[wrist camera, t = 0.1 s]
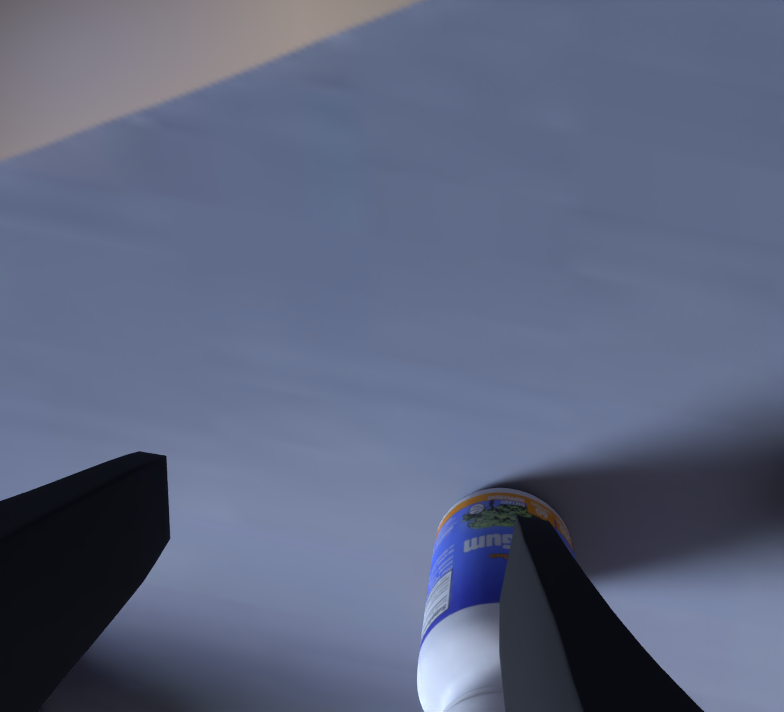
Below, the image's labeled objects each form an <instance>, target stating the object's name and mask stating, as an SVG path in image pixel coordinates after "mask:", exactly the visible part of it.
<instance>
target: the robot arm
mask: <svg viewBox="0 0 784 712" xmlns="http://www.w3.org/2000/svg"><path fill="white" fill-rule="evenodd" d="M169 540H170V524H169V503H168V481H167V460H166V456H164V455H158V454H152V453H146V452H140V451H139V452H135V453H131V454H128V455H125V456H122V457H119V458H116V459H113V460H110V461H107V462H105V463H102V464H99V465H96V466H94V467H91V468H88V469H86V470H83V471H81V472H78V473H75V474H73V475H70V476H67V477H65V478H62V479H60V480H57V481H54V482H52V483H49V484H46V485H44V486H41V487H39V488H36V489H33V490H31V491H28V492H25V493H22V494H19V495H16V496H14V497H11V498H8V499H5V500H2V501H0V712H39V710H40V709H41V707H42V706H43V705H44V703H45V702H46V701H47V700H48V698H49V697H50V696H51V694H52V693H53V692H54V690H55V689H56V688H57V687H58V685H59V684H60V683H61V681H62V680H63V679H64V678H65V676H66V675H67V674H68V673H69V672H70V670H71V669H72V668H73V667H74V666H75V664H76V663H77V662H78V661H79V660H80V658H81V657H82V656H83V655H84V654H85V652H86V651H87V650H88V649H89V647H90V646H91V645H92V644H93V643H94V641H95V640H96V639H97V638H98V637H99V635H100V634H101V633H102V632H103V631H104V629H105V628H106V627H107V626H108V625H109V623H110V622H111V621H112V620H113V618H114V617H115V616H116V615H117V614H118V612H119V611H120V610H121V609H122V607H123V606H124V605H125V604H126V603H127V601H128V600H129V599H130V598H131V596H132V595H133V594H134V593H135V591H136V590H137V589H138V588H139V586H140V585H141V584H142V583H143V581H144V580H145V578H146V577H147V575H148V574H149V572H150V570H151V569H152V567H153V566H154V564H155V563H156V561H157V560H158V558H159V556H160V555H161V553H162V551H163V550H164V548H165V546H166V545H167V543H168V541H169ZM499 655H500V665H501V675H502V685H503V694H504V704H505V712H704V711H703V710H702V709H701V708H700V707H699V706H698V705H697V704H696V703H695V702H694V701H693V700H692V699H691V698H690V697H689V696H688V695H687V694H686V693H685V692H684V691H683V690H682V689H681V688H680V687H679V686H678V685H677V684H676V683H675V681H674V680H673V679H672V678H671V677H670V676H669V675H668V674H667V673H666V672H665V671H664V670H663V669H662V668H661V667H660V666H659V665H658V664H657V663H656V661H655V660H654V659H653V658H652V657H651V656H650V655H649V654H648V653H647V651H646V650H645V649H644V648H643V647H642V646H641V644H640V643H639V642H638V641H637V640H636V639H635V637H634V636H633V635H632V634H631V633H630V631H629V630H628V629H627V628H626V627H625V625H624V624H623V623H622V622H621V621H620V619H619V618H618V617H617V616H616V614H615V613H614V612H613V611H612V609H611V608H610V607H609V605H608V604H607V603H606V601H605V600H604V599H603V597H602V596H601V595H600V593H599V592H598V591H597V589H596V588H595V587H594V585H593V584H592V583H591V581H590V580H589V578H588V577H587V575H586V574H585V573H584V571H583V570H582V568H581V567H580V565H579V564H578V563H577V561H576V560H575V558H574V557H573V555H572V554H571V552H570V551H569V549H568V548H567V546H566V545H565V543H564V542H563V540H562V539H561V537H560V536H559V534H558V533H557V532H556V530H555V529H554V527H553V526H552V524H551V523H550V522H549V521H547V520H542V519H536V518H530V517H524V516H518V515H516V520H515V525H514V531H513V536H512V541H511V546H510V551H509V556H508V561H507V566H506V571H505V576H504V581H503V586H502V591H501V596H500V608H499Z"/></svg>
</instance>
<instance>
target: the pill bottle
mask: <svg viewBox="0 0 784 712" xmlns="http://www.w3.org/2000/svg"><path fill="white" fill-rule="evenodd" d="M516 515H518V516H524V517H530V518H536V519H542V520H547V521H549V522H550V523H551V524H552V526H553V527H554V529H555V530H556V532H557V533H558V534H559V536H560V537H561V539H562V540H563V542H564V543H565V545H566V546H567V548H568V549H569V551H570V552H571V554H572V555H573V557H574V558H575V560H576V557H575V553H574V549H573V544H572V541H571V538H570V535H569V532H568V530H567V527H566V525H565V524H564V522H563V520H562V519H561V517H560V516H559V515H558V514H557V512H556V511H555V510H554V509H553V508H551V507H550V506H549V505H548V504H547V503H545V502H544V501H542V500H541V499H539V498H537V497H536V496H533V495H531V494H529V493H526V492H523V491H520V490H515V489H510V488H491V489H485V490H481V491H477V492H474V493H472V494H470V495H467V496H466V497H464V498H462V499H461V500H459V501H458V502H457V503H455V504H454V505H453V506H452V507H451V508H450V509H449V510H448V512H447V513H446V514H445V516H444V517H443V519H442V521H441V523H440V525H439V528H438V531H437V535H436V539H435V545H434V551H433V558H432V564H431V571H430V579H429V586H428V593H427V600H426V607H425V615H424V622H423V630H422V637H421V644H420V653H419V661H418V672H417V688H418V694H419V698H420V702H421V705H422V708H423V710H424V712H505V704H504V694H503V685H502V675H501V665H500V655H499V608H500V596H501V591H502V586H503V581H504V576H505V571H506V566H507V561H508V556H509V551H510V546H511V541H512V536H513V531H514V525H515V520H516Z"/></svg>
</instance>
